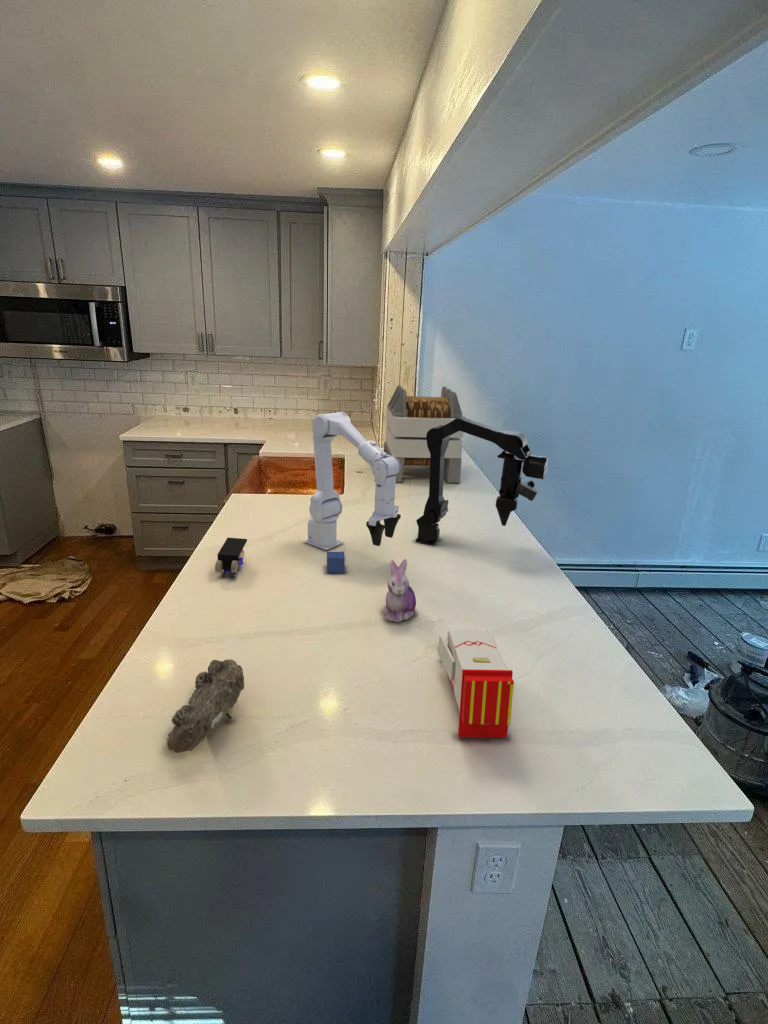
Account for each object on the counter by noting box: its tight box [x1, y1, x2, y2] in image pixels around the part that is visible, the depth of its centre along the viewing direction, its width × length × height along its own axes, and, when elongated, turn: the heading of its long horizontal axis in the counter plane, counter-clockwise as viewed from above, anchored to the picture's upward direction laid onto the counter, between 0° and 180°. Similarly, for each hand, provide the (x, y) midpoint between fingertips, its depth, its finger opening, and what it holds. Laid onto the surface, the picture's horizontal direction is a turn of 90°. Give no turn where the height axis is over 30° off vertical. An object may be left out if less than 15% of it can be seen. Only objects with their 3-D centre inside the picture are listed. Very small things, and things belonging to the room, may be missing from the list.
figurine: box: [384, 558, 417, 623], centre depth 145 cm, size 9×10×15 cm
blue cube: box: [326, 551, 346, 574], centre depth 170 cm, size 5×5×5 cm
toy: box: [437, 628, 515, 738], centre depth 117 cm, size 12×13×30 cm
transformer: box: [383, 384, 464, 484], centre depth 268 cm, size 34×33×41 cm
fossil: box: [166, 658, 245, 754], centre depth 106 cm, size 22×10×15 cm
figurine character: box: [214, 537, 248, 578], centre depth 166 cm, size 7×8×15 cm
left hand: (382, 540), depth 169 cm, fingers open, 7 cm apart
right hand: (504, 520), depth 180 cm, fingers open, 9 cm apart
